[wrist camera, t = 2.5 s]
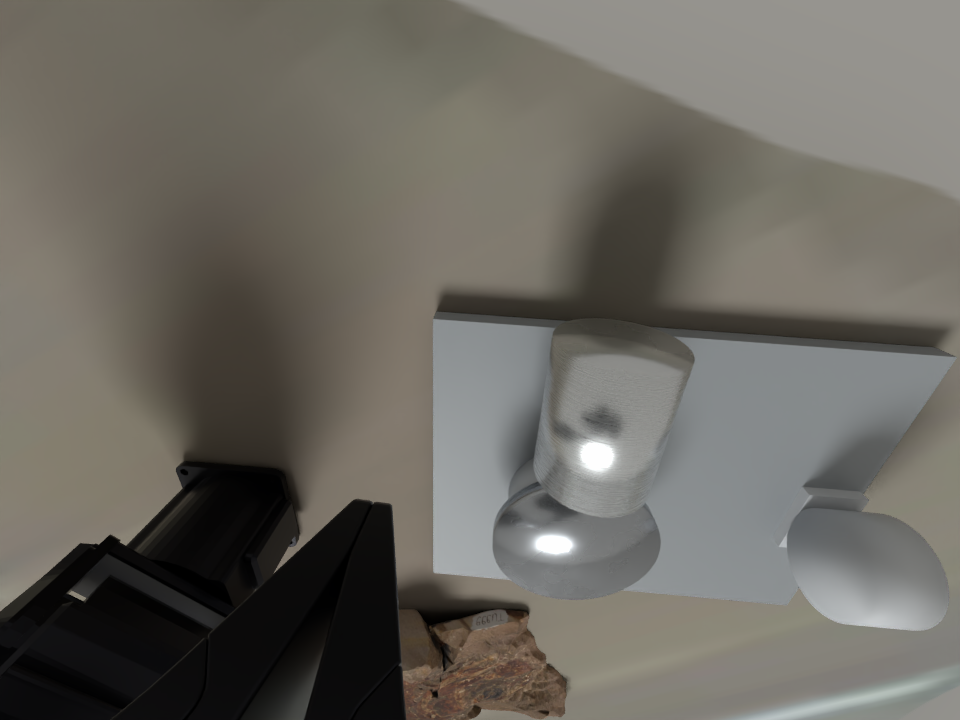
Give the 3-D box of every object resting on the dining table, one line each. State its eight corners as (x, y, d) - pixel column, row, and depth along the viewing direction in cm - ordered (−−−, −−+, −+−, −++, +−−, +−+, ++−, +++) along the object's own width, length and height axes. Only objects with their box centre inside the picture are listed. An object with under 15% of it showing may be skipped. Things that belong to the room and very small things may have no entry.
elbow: (623, 555, 23) (650, 648, 19) (489, 543, 24) (485, 632, 19) (700, 325, 17) (771, 386, 12) (511, 311, 17) (513, 366, 12)
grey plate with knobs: (435, 559, 27) (416, 668, 21) (436, 311, 19) (405, 379, 13) (777, 590, 26) (853, 712, 20) (934, 347, 18) (1138, 436, 12)
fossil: (570, 605, 29) (581, 679, 25) (563, 709, 36) (571, 781, 32) (314, 599, 31) (284, 669, 26) (356, 700, 38) (338, 767, 34)
